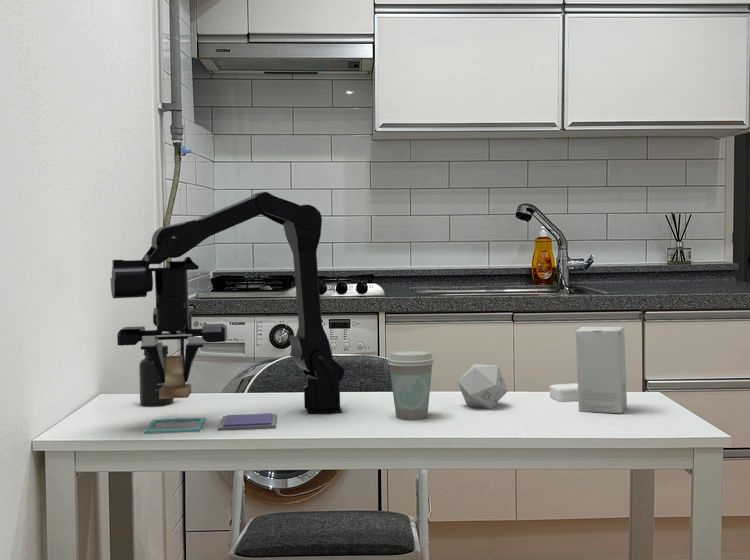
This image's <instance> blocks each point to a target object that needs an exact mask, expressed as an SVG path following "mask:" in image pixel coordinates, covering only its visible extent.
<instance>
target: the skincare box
mask: <svg viewBox="0 0 750 560" xmlns="http://www.w3.org/2000/svg"><path fill="white" fill-rule="evenodd" d="M575 341H576V342H575V346H576V371H577V372H576V373H577V383H578V401H577V402H578V412H581V413H584V412H585V413H589V412H590V413H604V414H605V413H608V414H623V412H624V411H625V410H626V408H627V407H628V398H627V395H628V394H627V374H626V373H627V368H626V347H625V345H626V344H625V343H626V342H625V341H626V340H625V327H624V326H582V327H580V328H578V329H577V330H576V331H575Z"/></svg>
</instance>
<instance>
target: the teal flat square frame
mask: <svg viewBox="0 0 750 560" xmlns="http://www.w3.org/2000/svg"><path fill="white" fill-rule="evenodd" d="M206 419H207V418H206V417H187V418H186V417H184V418H181V417H180V418H162V419H161V418H159V419H158V418H157V419H152V421H151V422H150V423H149V425H148V426H147V427H146V428H145V429H144V431H143V433H144V434H156V433H155V432H166V433H183V432H184V433H185V432H186V433H187V432H189V433H190V432H201V430H202V429H203V426H204V424H205V422H206ZM171 421H180V422H198V423H197V425H196V427H189V428H187V427H185V428H165V429H153V428H154V427H155V426H156V425H155V424H158V423H172V422H171ZM154 425H155V426H154ZM151 429H152V430H151ZM153 432H154V433H153Z"/></svg>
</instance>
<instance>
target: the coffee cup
mask: <svg viewBox="0 0 750 560" xmlns="http://www.w3.org/2000/svg"><path fill="white" fill-rule="evenodd" d="M434 363H435V362H434V358H433V355H432V352H431V351H429V350H425V349H401V350H399V349H398V350H395V351H391V352H390V354H389V357H388V362H387V364H388V366H389V372H390V379H391V389H392V395H393V396H392V397H393V403H394V408H395V417H396V418H397V419H400V420H405V421H406V420H407V421H412V420H413V421H414V420H415V421H416V420H422V419H423V420H424V419H426V418H428V413H429V403H430V394H431V393H430V391H431V383H432V371H433V370H432V369H433V364H434Z"/></svg>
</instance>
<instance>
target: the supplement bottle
mask: <svg viewBox="0 0 750 560" xmlns="http://www.w3.org/2000/svg"><path fill="white" fill-rule="evenodd" d="M162 353H163V360H164V357H167V356H168V355H169V345H166V344H162ZM143 356H144V358H143V359H141V360H140V362H139V365H138V366H139V367H138V368H139V369H138V370H139V371H138V373H139V374H138V375H139V377H138V378H139V404H141V406H145V405H162V406H166V405H165V404H168V405H171V404H173V402H174V400H175V398H166V399H159V389H160V388H161V387H162V386H163V385H165V383H162V381H161V378H160V376H159V374H158V371H157V369H156V367H155V364H154V362H153V361H152V359H151V357H150V356H149V354H148V352H147V351H146V350H143ZM170 403H171V404H170Z"/></svg>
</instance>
